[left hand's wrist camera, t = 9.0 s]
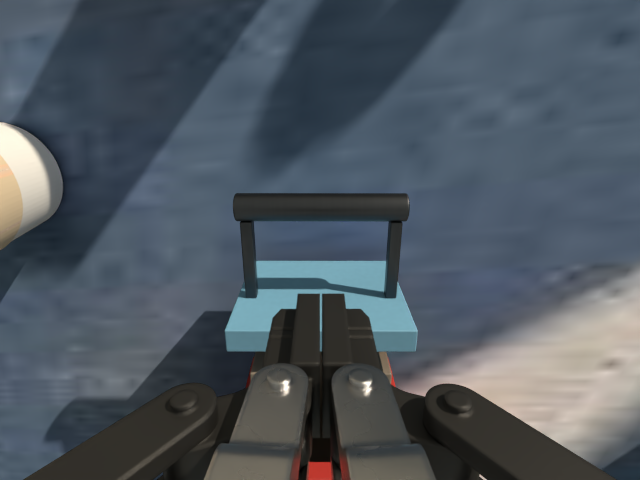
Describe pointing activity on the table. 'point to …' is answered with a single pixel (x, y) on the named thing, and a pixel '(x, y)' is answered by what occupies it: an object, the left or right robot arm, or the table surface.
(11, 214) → the coffee cup
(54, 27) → the table surface
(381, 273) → the drawer
